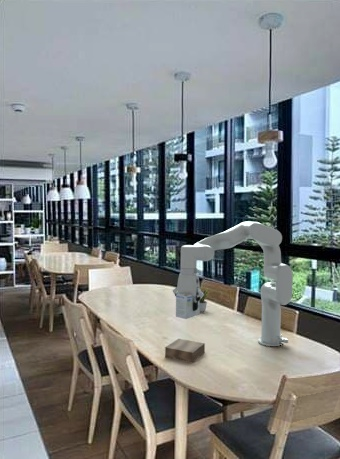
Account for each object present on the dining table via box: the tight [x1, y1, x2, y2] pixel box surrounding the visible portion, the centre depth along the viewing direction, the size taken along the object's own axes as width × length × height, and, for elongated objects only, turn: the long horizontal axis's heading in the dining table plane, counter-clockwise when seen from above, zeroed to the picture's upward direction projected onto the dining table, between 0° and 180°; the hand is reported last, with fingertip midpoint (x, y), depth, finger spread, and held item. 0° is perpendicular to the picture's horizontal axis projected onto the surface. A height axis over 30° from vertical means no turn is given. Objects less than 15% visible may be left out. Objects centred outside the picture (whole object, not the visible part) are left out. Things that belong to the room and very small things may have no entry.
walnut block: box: [164, 338, 206, 363], centre depth 182 cm, size 14×14×5 cm
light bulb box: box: [175, 293, 200, 320], centre depth 181 cm, size 11×7×11 cm, turn 141°
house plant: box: [199, 287, 213, 312], centre depth 262 cm, size 14×14×16 cm
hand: (187, 308), depth 181 cm, fingers closed on light bulb box, 7 cm apart
